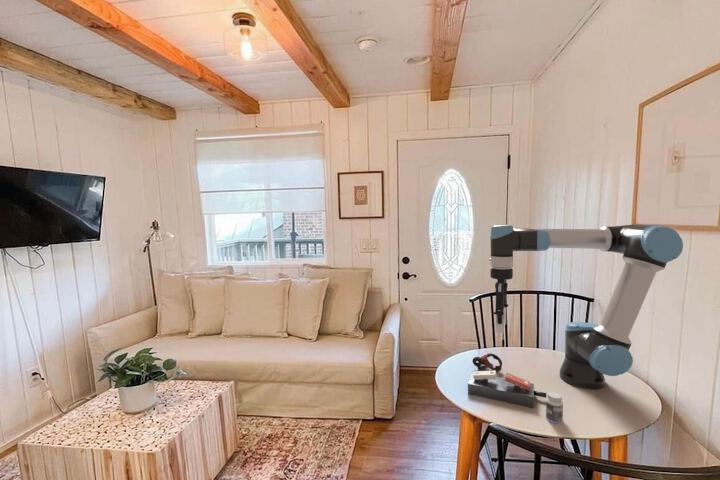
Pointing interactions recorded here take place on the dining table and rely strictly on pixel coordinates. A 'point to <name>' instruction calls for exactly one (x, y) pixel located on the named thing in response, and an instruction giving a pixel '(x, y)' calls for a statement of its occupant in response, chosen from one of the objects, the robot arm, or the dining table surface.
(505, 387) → the rocker switch panel
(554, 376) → the dining table surface
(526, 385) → the rocker
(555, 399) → the pill bottle
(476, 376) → the rocker
